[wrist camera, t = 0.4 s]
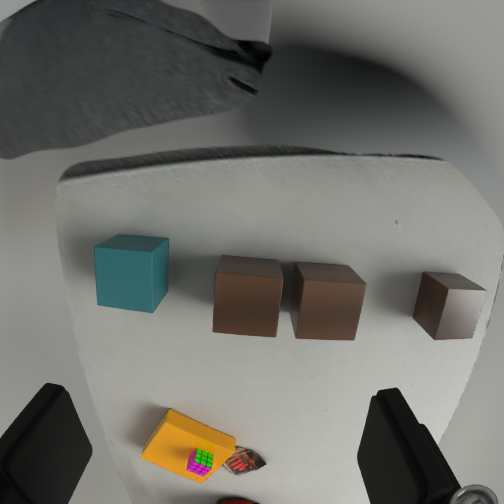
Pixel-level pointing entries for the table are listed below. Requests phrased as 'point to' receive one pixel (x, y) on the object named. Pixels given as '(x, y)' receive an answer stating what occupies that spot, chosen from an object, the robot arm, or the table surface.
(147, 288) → the teal block
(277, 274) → the line block
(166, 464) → the wide flat orange box
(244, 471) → the red black flat square
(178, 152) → the table surface
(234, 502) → the red clay folk toy
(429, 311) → the line block
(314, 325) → the line block
